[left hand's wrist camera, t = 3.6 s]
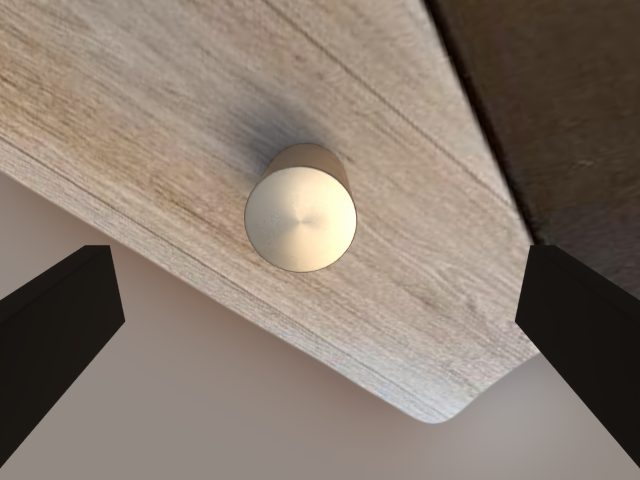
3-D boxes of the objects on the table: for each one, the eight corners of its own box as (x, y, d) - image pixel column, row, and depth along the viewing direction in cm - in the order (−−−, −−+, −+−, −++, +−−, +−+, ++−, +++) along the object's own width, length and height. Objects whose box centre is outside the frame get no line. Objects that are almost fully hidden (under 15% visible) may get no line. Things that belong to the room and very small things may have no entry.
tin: (358, 208, 29) (371, 253, 21) (283, 234, 30) (270, 286, 22) (331, 130, 27) (335, 148, 19) (252, 160, 28) (224, 189, 20)
